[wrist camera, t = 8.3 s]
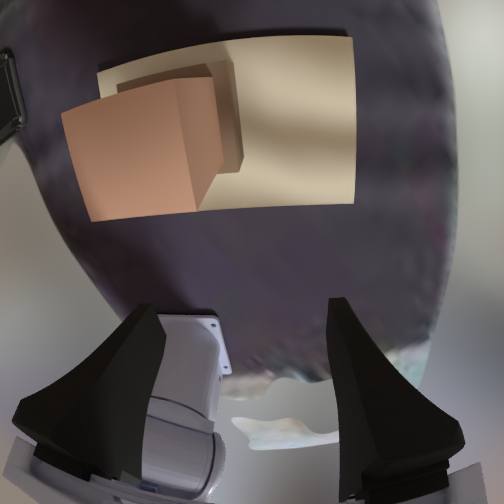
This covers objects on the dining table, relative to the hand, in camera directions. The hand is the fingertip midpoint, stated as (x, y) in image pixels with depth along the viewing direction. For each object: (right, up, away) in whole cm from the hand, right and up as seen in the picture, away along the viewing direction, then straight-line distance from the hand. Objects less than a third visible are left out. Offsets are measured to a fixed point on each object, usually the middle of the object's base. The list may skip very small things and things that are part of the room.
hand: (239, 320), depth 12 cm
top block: (-3, +9, +2) cm, 10 cm away
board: (-1, +11, +5) cm, 12 cm away
